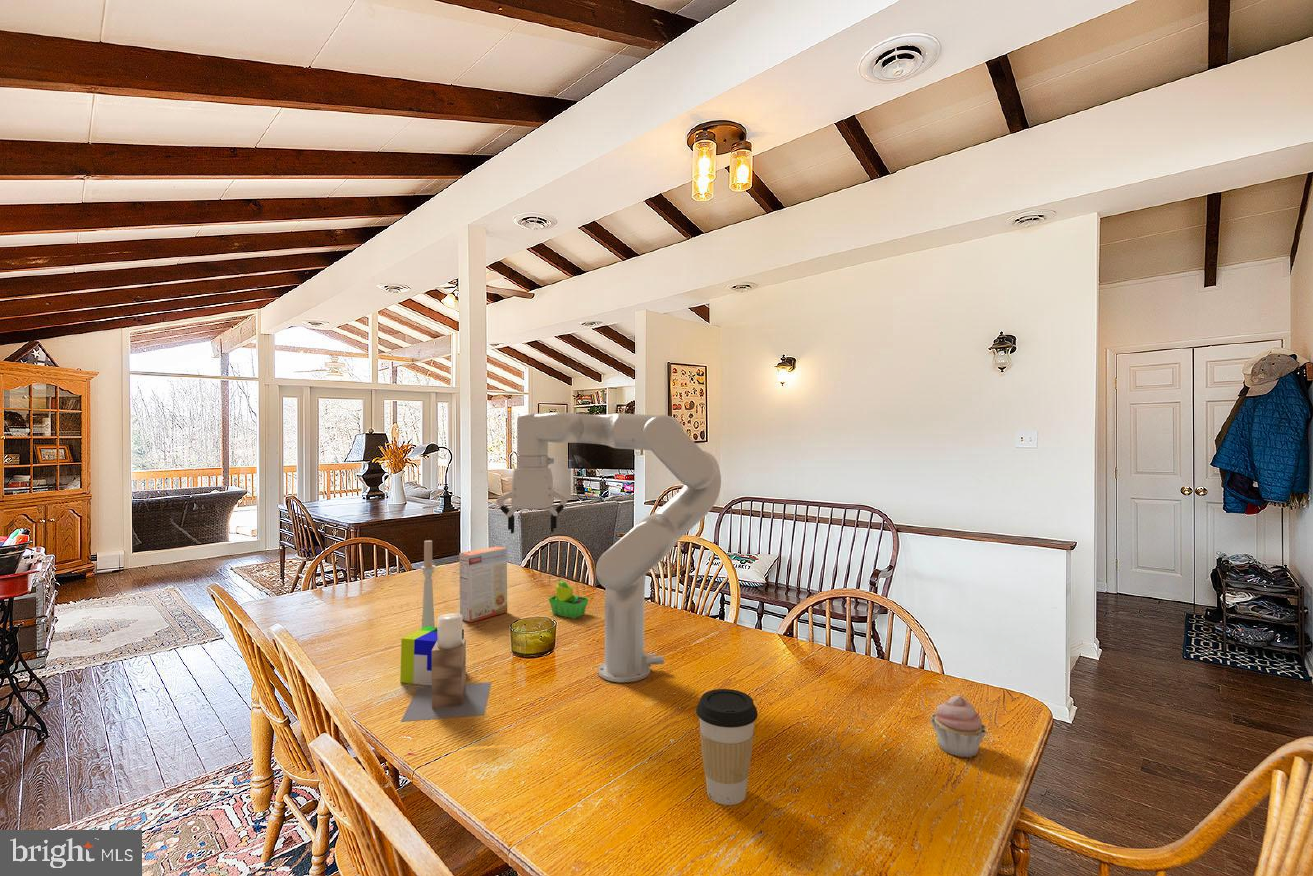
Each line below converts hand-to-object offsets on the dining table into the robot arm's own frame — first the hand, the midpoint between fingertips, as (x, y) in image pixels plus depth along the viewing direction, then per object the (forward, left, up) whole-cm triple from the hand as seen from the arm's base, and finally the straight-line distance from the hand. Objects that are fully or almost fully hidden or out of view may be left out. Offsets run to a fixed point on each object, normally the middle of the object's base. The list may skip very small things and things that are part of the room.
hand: (532, 532), depth 145 cm
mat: (+17, +17, -33) cm, 41 cm away
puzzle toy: (+23, +3, -33) cm, 41 cm away
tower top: (+17, +17, -27) cm, 36 cm away
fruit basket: (-10, -40, -34) cm, 53 cm away
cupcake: (-78, +53, -34) cm, 100 cm away
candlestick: (+27, -13, -34) cm, 45 cm away
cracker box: (+16, -43, -34) cm, 57 cm away
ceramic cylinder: (+17, +17, -21) cm, 32 cm away
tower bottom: (+17, +17, -33) cm, 41 cm away
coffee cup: (-32, +58, -34) cm, 74 cm away
